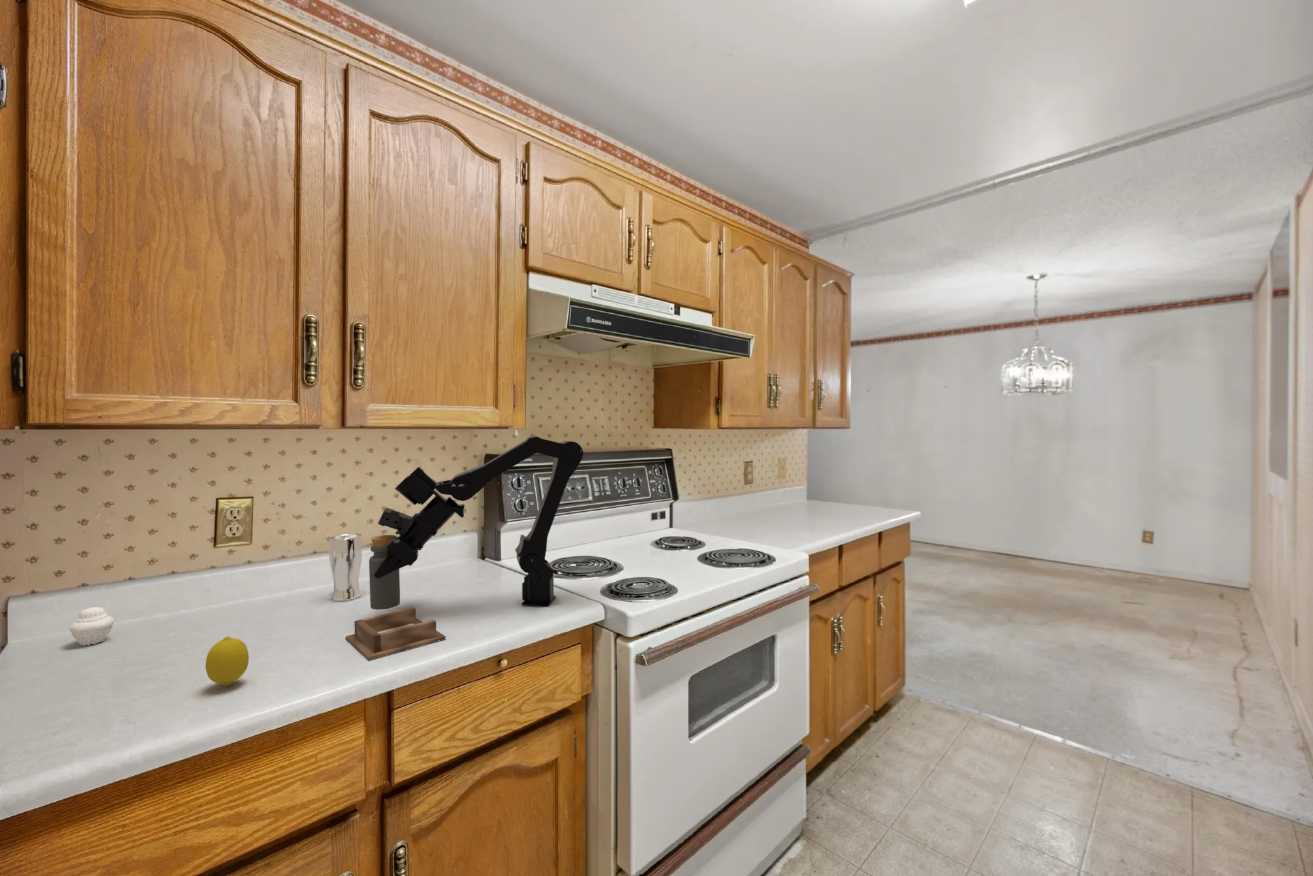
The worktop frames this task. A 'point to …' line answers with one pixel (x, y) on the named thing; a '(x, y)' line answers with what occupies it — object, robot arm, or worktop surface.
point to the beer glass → (345, 565)
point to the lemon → (227, 661)
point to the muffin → (91, 626)
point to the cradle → (392, 633)
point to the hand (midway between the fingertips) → (377, 573)
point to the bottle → (383, 577)
